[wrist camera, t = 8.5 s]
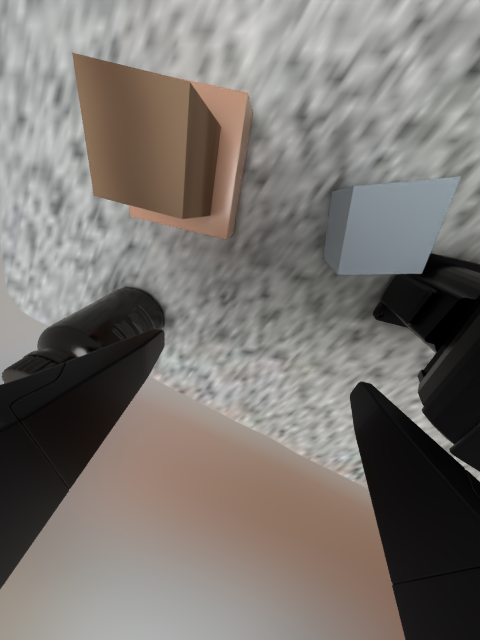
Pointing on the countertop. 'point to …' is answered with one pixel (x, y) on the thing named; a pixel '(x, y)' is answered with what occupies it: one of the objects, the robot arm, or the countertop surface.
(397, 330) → the countertop surface
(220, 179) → the base block
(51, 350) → the supplement bottle
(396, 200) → the slate-blue cube
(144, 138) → the walnut cube
